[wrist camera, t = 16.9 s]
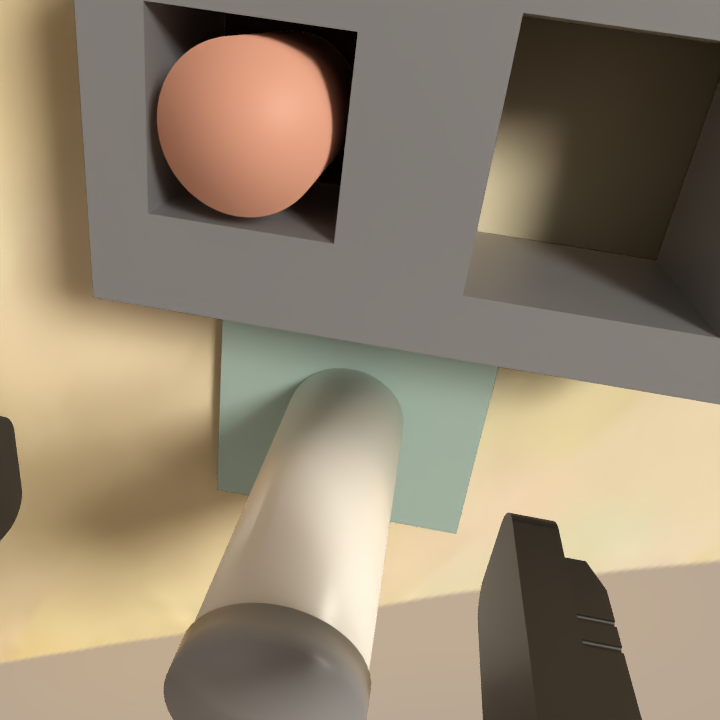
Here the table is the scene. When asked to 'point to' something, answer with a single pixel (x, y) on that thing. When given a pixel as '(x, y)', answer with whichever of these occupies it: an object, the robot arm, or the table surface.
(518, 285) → the housing
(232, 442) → the mat
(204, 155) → the orange egg
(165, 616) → the table surface
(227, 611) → the cartridge
